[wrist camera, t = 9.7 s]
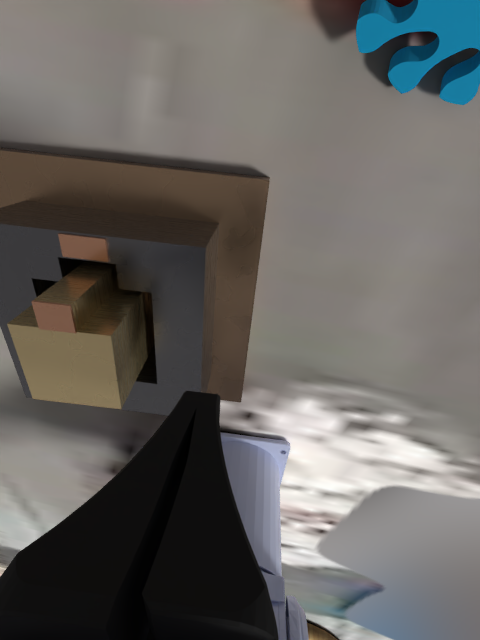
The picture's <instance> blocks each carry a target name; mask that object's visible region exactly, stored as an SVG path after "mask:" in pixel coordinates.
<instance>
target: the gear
mask: <svg viewBox="0 0 480 640" xmlns="http://www.w3.org/2000/svg"><path fill="white" fill-rule="evenodd" d="M420 31H431V32H434V33H436V34H437V35H438V37H437V38H436V39H435V40H434V41H432V42H431V43H429V44H427V45H424V46H408V47H404V48H402V49H400V50H399V51H397V52H396V53H395V54H394V55H393V56H392V58H391V60H390V65H389V70H388V77H389V80H390V82H391V83H392V85H393V86H394V87H395V88H396V89H397V90H398V91H399V92H400V93H401V94H402V93H406V92H408V91H410V90H412V89H413V88H414V87H415V86H416V85H417V84H418V83H419V81H420V80H421V78H422V77H423V76H424V75H425V74H426V73H427V72H428V71H429V70H430V69H431V68H432V67H433V66H434V65H436V64H437V63H439V62H440V61H442V60H443V59H445V58H447V57H449V56H451V55H453V54H455V53H457V52H460V51H462V50H464V49H467V48H476V49H478V50H479V52H478V53H477V54H475V55H474V56H473V57H471V58H469V59H467V60H465V61H463V62H460V63H458V64H456V65H454V66H453V67H451V68H450V69H449V70H448V71H447V72H446V73H445V74H444V76H443V78H442V82H441V89H440V98H441V99H443V100H444V101H447V102H450V103H454V104H460V105H464V104H466V103H468V102H469V101H470V100H472V99H473V97H474V96H475V95H476V93H477V91H478V87H479V84H480V0H413V1H412V2H411V3H410V4H408V5H406V6H404V7H396V6H394V5H392V4H391V3H389V2H388V1H386V0H366V1H365V2H363V3H362V4H361V8H360V12H359V16H358V21H357V26H356V37H357V44H358V48H359V52H361V53H369V52H373V51H375V50H376V49H378V48H379V47H380V46H381V45H383V44H384V43H385V42H387V41H389V40H390V39H392V38H394V37H397V36H399V35H402V34H405V33H409V32H420Z"/></svg>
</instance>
